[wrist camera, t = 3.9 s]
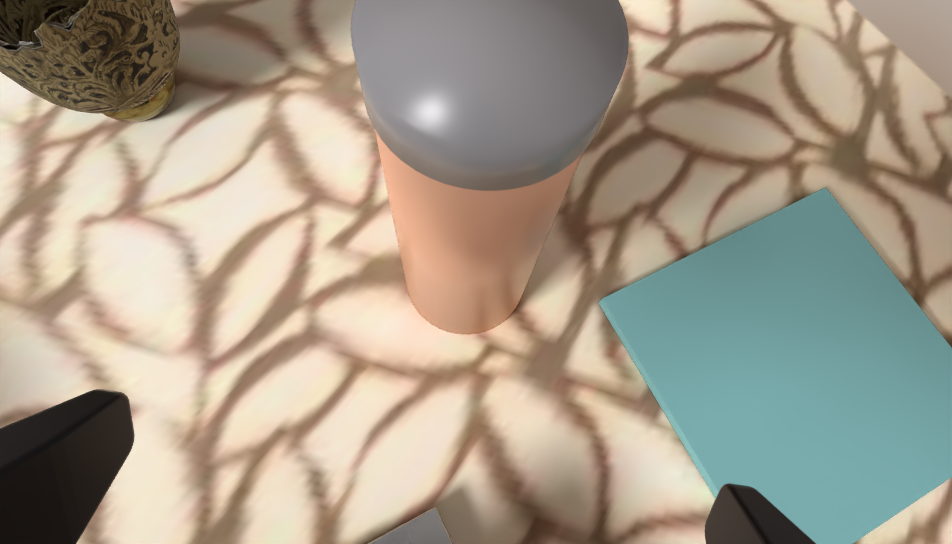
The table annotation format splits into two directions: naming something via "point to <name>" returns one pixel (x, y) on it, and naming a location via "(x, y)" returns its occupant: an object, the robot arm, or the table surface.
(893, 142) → the table surface
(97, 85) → the cup
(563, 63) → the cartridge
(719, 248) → the mat
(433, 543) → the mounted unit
